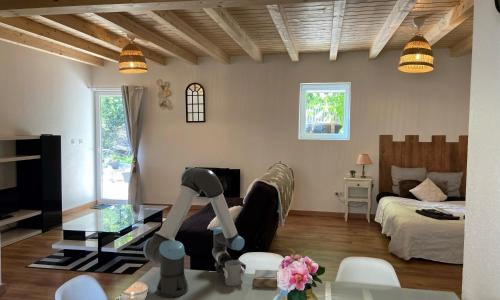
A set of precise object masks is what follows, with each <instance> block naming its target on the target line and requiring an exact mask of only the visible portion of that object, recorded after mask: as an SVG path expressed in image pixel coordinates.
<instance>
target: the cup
mask: <svg viewBox="0 0 500 300" xmlns="http://www.w3.org/2000/svg"><path fill="white" fill-rule="evenodd" d="M240 261H241V260H239V261H236V259H235V260H234V259H232V261H227V262H225V270H226V271H227V272H228V278H226V277H225V276H224V283H225V285H226V286H229V287H231V286H232V287H234V286H239V285H241V283H242V273H241V262H242V261H241V262H240Z"/></svg>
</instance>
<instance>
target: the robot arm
mask: <svg viewBox="0 0 500 300" xmlns="http://www.w3.org/2000/svg"><path fill="white" fill-rule="evenodd" d="M180 181H181V182H180V183H181V184H180V185H179V188H180V192H179V193H178V195H177V197H176V198H175V201H174V203H173V205H172V206H171V208H170V210H169V212H168V214H167V216H166V217H165V219H164V221H163V223H162V226H161V227H160V229H159V230H158V231H155V233H153V236H152V237H150V238H148V239H146V241H145V242H144V244H143V248H142V249H143V250H142V251H143V255H144V257H145V258H146V259H147V260H149V261H150V262H152V263H154V264H155V265H158V266H159V278H158V281H157V285H156V295H158V296H159V297H162V298H177V297H181V296H184V295H185V294H186V293H188V291H189V283H188V280H187V278H186V274H185V246H184V244H183V243H182V242H180V241H178V240H175V238H176V236H177V234H178V232H179V229H180V228H181V226H182V224H183V223H184V222H183V221H185V218H186V216H187V214H188V213H189V211H190V208H191V207H192V204H193V202H194V200H195V198H196V197H199V196H200V195H201V193H202V192H203V193H204V194H205V196H206V198H207V199H209V201H210V204H211V206H212V208H213V211H214V214H215V216H216V219H217V221H218V224H219V226H217V227H214V229H213V248H212V250H211V254H212V257H213V258H214V259H215V262H214V268H215V269H216V270H215V271H216V273H217V274H220V275H223V276H224V278H225V277H226V278H228V272H227V271H226V270H225V262H227V261H232V260H233V258H232V256H231V255H230V254H229V253H228V251H227V248H229V249H231V250H235V251H241V250H242V249H243V248H244V246H245V239H244V238H243V237H242V236H240V235H239V233H238V231H237V230H238V229H237V228H236V225H235V223H234V220H233V217H232V214H231V212H230V210H229V206H228V204H227V202H226V201H227V200H226V199H225V196H224V194H223V193H224V188H223V185H222V183H221V182H220V181H221V180H220V179H219V178H218V176H217V175H216V173H214V172H213V170H210V169H207V168H199V167H189V168H187V169H185V170H184V171H183V172H182V173H181V176H180ZM235 261H240V262H241V275H242V277H243V276H244V277H245V276H246V269H247V267H246V266H247V265H246V264H245V263H244V262H242V261H241V260H240V259H235Z"/></svg>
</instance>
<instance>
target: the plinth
mask: <svg viewBox="0 0 500 300" xmlns="http://www.w3.org/2000/svg"><path fill="white" fill-rule="evenodd" d="M277 272H278V273H279V270H277V269H276V270H274V269H255V271H254V276H253V287H259V288H260V287H262V288H263V287H264V288H265V287H266V288H267V287H269V288H278V287H277Z"/></svg>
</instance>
